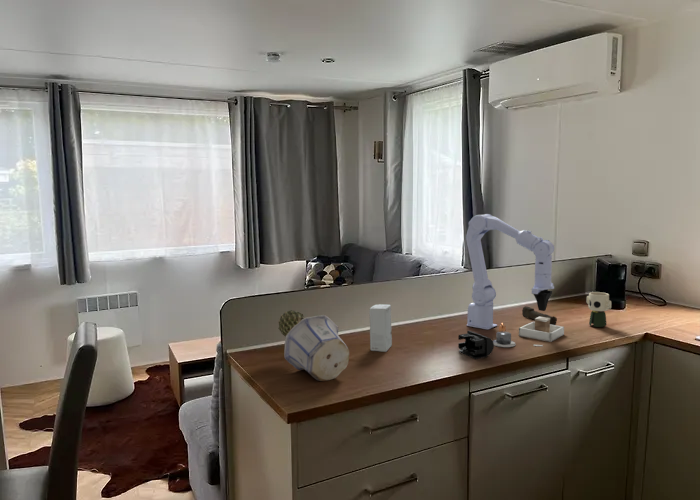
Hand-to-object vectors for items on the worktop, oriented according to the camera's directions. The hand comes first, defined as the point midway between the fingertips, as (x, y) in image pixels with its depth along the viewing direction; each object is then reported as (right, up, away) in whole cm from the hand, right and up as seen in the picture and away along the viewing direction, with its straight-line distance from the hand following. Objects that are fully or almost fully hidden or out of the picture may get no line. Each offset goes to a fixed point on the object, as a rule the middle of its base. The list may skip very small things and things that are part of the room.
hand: (542, 310), depth 196 cm
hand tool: (+6, -7, +23) cm, 25 cm away
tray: (0, -9, +1) cm, 9 cm away
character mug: (+26, -8, +12) cm, 30 cm away
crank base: (-12, -11, -10) cm, 19 cm away
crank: (-16, -10, -6) cm, 19 cm away
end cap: (-29, -13, -19) cm, 37 cm away
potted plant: (-83, -15, -31) cm, 90 cm away
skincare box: (-60, -12, -12) cm, 62 cm away
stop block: (0, -9, +1) cm, 9 cm away
